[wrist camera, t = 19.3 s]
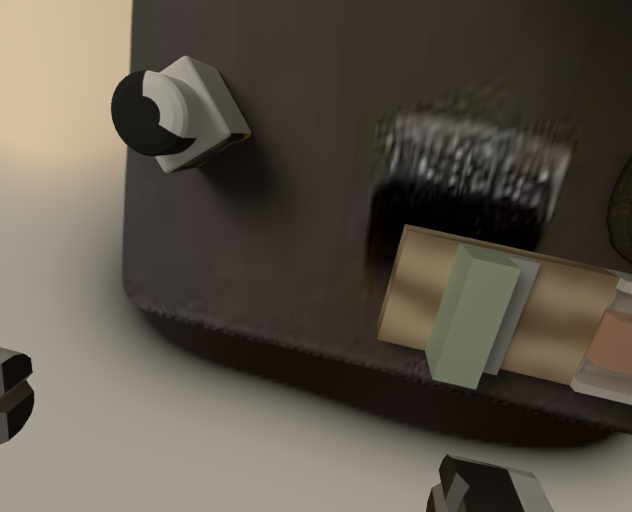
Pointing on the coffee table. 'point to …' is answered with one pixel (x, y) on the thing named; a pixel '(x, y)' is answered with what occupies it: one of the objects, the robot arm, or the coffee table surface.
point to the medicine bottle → (178, 114)
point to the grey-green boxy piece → (478, 314)
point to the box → (602, 382)
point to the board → (536, 317)
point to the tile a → (612, 343)
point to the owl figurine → (621, 213)
